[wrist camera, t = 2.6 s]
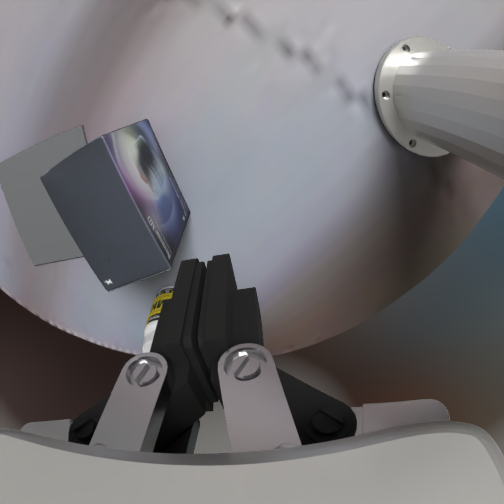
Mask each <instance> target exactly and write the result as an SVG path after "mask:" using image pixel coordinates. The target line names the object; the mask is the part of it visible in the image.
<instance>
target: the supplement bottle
mask: <svg viewBox="0 0 504 504" xmlns="http://www.w3.org/2000/svg"><path fill="white" fill-rule="evenodd" d="M173 290H174V286H167V287H164V288H162V289H161V290H159V291H158V293H157V294H156V297H155V300H154V302H153V305H152V308H151V311H150V314H149V317H148V320H147V323H146V326H145V329H144V337H145V339H144V343H143V348H142V350H143V353H147V352H150V348H151V345H152V341H153V337H154V333H155V330H156V326H157V322H158V319H159V315H160V312H161V308H162V304H163V302H164V300H165V299H171V298H172V294H173Z"/></svg>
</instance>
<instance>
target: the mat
mask: <svg viewBox="0 0 504 504" xmlns="http://www.w3.org/2000/svg"><path fill="white" fill-rule="evenodd" d="M86 144H87V140H86V136H85V132H84V128H83V125H82V126H79V127H76V128H74V129H71V130H69V131H66V132H64V133H62V134H59V135H57V136H55V137H52V138H50V139H48V140H45V141H43V142H41V143H39V144H37V145H35V146H33V147H30V148H28V149H26V150H24V151H22V152H20V153H18V154H16V155H14V156H12V157H10V158H9V159H7V160H5V161H3V162H1V163H0V183H1V186H2V189H3V192H4V195H5V198H6V201H7V203H8V206H9V209H10V211H11V214H12V217H13V219H14V222H15V224H16V227H17V229H18V231H19V234H20V236H21V238H22V241H23V243H24V245H25V247H26V250H27V252H28V254H29V256H30V258H31V260H32V262H33V264H34V265H39V264H44V263H50V262H55V261H60V260H65V259H71V258H76V257H81V256H83V254H82V253H81V251H80V249H79V248H78V246H77V244H76V243H75V241H74V239H73V238H72V236H71V234H70V233H69V231H68V229H67V228H66V226H65V224H64V222H63V221H62V219H61V217H60V215H59V213H58V212H57V210H56V208H55V206H54V204H53V202H52V200H51V199H50V197H49V195H48V193H47V191H46V189H45V187H44V185H43V183H42V181H41V179H40V176H41V175H42V174H43V173H45V172H46V171H48V170H49V169H50V168H52V167H53V166H54V165H56V164H57V163H59V162H60V161H62V160H63V159H64V158H66V157H67V156H69V155H70V154H72V153H73V152H75V151H76V150H78V149H80V148H81V147H83V146H84V145H86Z"/></svg>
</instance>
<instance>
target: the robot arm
mask: <svg viewBox="0 0 504 504" xmlns="http://www.w3.org/2000/svg"><path fill="white" fill-rule="evenodd" d="M402 47H403V49H404V51H403V49H402ZM374 90H375V101H376V105H377V110H378V112H379V115H380V118H381V120H382V122H383V124H384V126H385V127H386V129H387V131H388V132H389V133H390V135H391V136H392V137H393V138H394V139H395V140H396V141H397V142H398V143H399V144H400V145H402V146H403V147H404V148H406V149H408V150H410V151H411V152H414V153H416V154H418V155H421V156H426V157H439V156H443V155H447V154H449V153H453V154H455V155H457V156H459V157H461V158H463V159H465V160H467V161H469V162H471V163H473V164H475V165H477V166H479V167H481V168H483V169H485V170H486V171H488V172H490V173H492V174H494V175H496V176H497V177H499V178H501V179H503V180H504V50H479V49H464V50H452V49H451V48H449V47H448V46H447V45H445V44H443V43H442V42H440V41H438V40H435V39H431V38H428V37H413V38H407V39H404V40H401V41H399V42H397V43H396V44H394V45H393V46H391V47H390V48H389V50H388V51H387V52H386V53H385V54H384V56H383V57H382V59H381V61H380V63H379V65H378V68H377V72H376V76H375V84H374ZM382 92H383V93H384V97H382ZM409 141H410V143H409ZM218 400H220V402H221V404H222V406H223V409H224V412H225V418H226V424H227V429H228V435H229V440H230V446H231V451H232V453H219V454H193V453H194V449H195V445H196V441H197V436H198V432H199V428H200V420H199V418H201V417H202V416H203V415H204V414H205V411H213V402H218ZM0 504H504V456H503V454H502V452H501V451H500V449H499V447H498V446H497V444H496V443H495V441H494V440H493V439H492V438H491V436H490V435H489V434H488V433H487V432H485V431H484V430H483V429H481V428H479V427H478V426H475V425H472V424H468V423H461V422H450V417H449V413H448V411H447V408H446V407H445V406H444V405H443V404H442V403H441V402H438V401H436V400H434V399H422V400H413V401H402V402H391V403H373V404H363V407H349V406H347V405H346V404H344V403H343V402H341V401H339V400H337V399H335V398H333V397H331V396H329V395H327V394H325V393H323V392H321V391H319V390H317V389H315V388H313V387H311V386H310V385H308V384H306V383H304V382H302V381H300V380H298V379H296V378H295V377H293V376H291V375H289V374H287V373H285V372H284V371H282V370H280V369H278V368H276V367H275V364H274V361H273V357H272V355H271V354H270V352H269V351H268V350H267V349H266V348H265V347H264V343H263V333H262V323H261V315H260V309H259V303H258V298H257V292H256V288H255V287H253V288H246V289H239V290H237V285H236V281H235V277H234V272H233V268H232V263H231V259H230V255H229V254H223V255H216V256H213V259H212V260H211V261H208V262H207V269H206V266H205V263H204V262H199V260H198V259H190V260H184V261H182V262H181V265H180V268H179V272H178V275H177V279H176V283H175V286H174V290H173V294H172V298H171V299H165V300H164V302H163V304H162V308H161V312H160V315H159V319H158V322H157V326H156V330H155V333H154V337H153V341H152V345H151V348H150V352H147V353H142V354H139V355H137V356H135V357H133V358H131V359H130V360H129V361H128V362H127V363H126V365H125V366H124V367H123V369H122V371H121V374H120V376H119V378H118V380H117V382H116V384H115V387H114V389H113V391H112V393H110V394H109V395H108V396H106V397H105V398H104V399H102V400H101V401H99V402H98V403H97V404H95V405H94V406H92V407H91V408H89V409H88V410H87V411H85V412H84V413H82V414H81V415H79V416H78V417H77V418H76V419H75V420H74V421H73V422H72V421H71V420H70V419H67V420H58V421H47V422H33V423H28V424H26V425H25V426H23V427H22V429H21V430H20V431H17V430H12V429H4V428H2V429H1V428H0Z"/></svg>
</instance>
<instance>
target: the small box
mask: <svg viewBox="0 0 504 504" xmlns="http://www.w3.org/2000/svg"><path fill="white" fill-rule="evenodd" d="M40 179H41V181H42V183H43V185H44V187H45V189H46V191H47V193H48V195H49V197H50V199H51V200H52V202H53V204H54V206H55V208H56V210H57V212H58V213H59V215H60V217H61V219H62V221H63V222H64V224H65V226H66V228H67V229H68V231H69V233H70V234H71V236H72V238H73V239H74V241H75V243H76V244H77V246H78V248H79V249H80V251H81V253H82V254H83V256H84V257H85V259H86V260H87V262H88V263H89V265H90V267H91V268H92V270H93V271H94V273H95V274H96V276H97V277H98V279H99V280H100V281H101V283H102V284H103V286H104V287H105V289H106V290H107V291H108V292H110V291H113V290H115V289H118V288H121V287H124V286H126V285H129V284H132V283H135V282H137V281H140V280H143V279H146V278H149V277H151V276H154V275H157V274H160V273H162V272H165V271H168V270H170V269H171V267H172V263H173V259H174V257H175V254H176V251H177V248H178V245H179V242H180V239H181V236H182V234H183V231H184V228H185V225H186V223H187V220H188V217H189V215H190V210H189V208H188V206H187V204H186V202H185V200H184V198H183V195H182V193H181V191H180V189H179V187H178V185H177V183H176V180H175V178H174V176H173V174H172V172H171V170H170V168H169V165H168V163H167V161H166V159H165V156H164V154H163V152H162V150H161V148H160V146H159V143H158V141H157V139H156V137H155V134H154V132H153V130H152V128H151V125H150V123H149V121H148V119H145V120H142V121H140V122H137V123H134V124H131V125H129V126H126V127H123V128H121V129H118V130H115V131H113V132H110V133H108V134H105V135H102V136H100V137H98V138H96V139H94V140H93V141H91V142H89V143H87V144H86V145H84V146H83V147H81V148H80V149H78V150H76V151H75V152H73V153H72V154H70V155H69V156H67V157H66V158H64V159H63V160H62V161H60V162H59V163H57V164H56V165H54V166H53V167H52V168H50V169H49V170H48V171H46V172H45V173H43V174H42V175H41V176H40Z"/></svg>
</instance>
